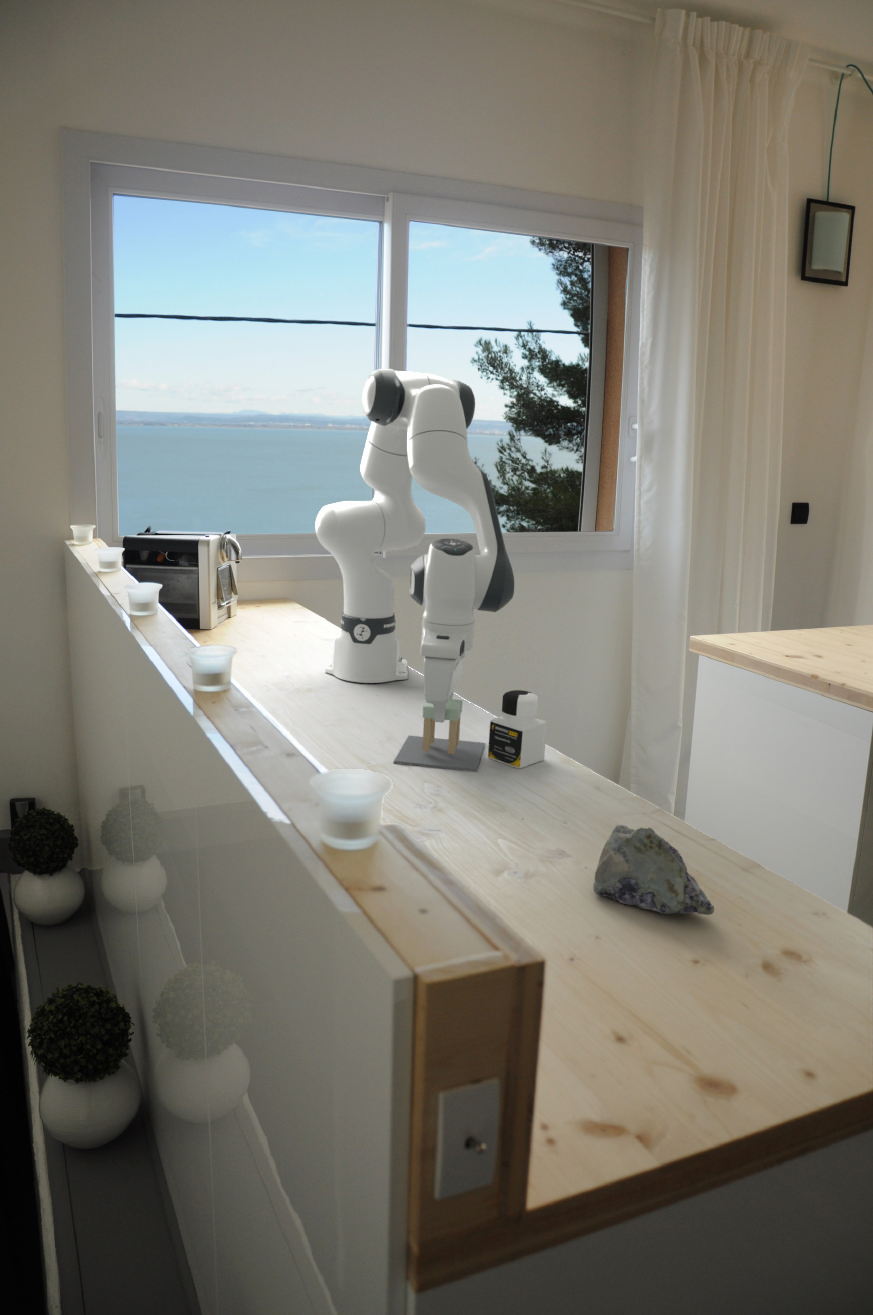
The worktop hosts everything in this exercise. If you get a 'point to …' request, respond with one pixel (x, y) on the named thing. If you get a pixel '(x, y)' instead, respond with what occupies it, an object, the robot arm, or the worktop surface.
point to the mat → (441, 754)
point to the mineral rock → (647, 874)
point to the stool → (451, 714)
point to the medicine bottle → (517, 731)
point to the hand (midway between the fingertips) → (442, 715)
